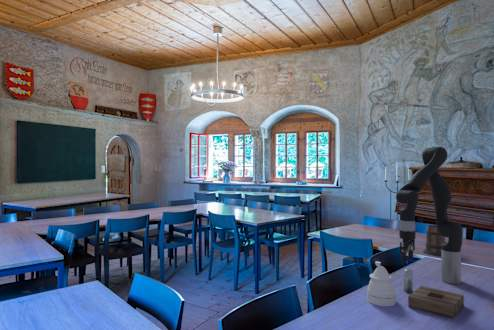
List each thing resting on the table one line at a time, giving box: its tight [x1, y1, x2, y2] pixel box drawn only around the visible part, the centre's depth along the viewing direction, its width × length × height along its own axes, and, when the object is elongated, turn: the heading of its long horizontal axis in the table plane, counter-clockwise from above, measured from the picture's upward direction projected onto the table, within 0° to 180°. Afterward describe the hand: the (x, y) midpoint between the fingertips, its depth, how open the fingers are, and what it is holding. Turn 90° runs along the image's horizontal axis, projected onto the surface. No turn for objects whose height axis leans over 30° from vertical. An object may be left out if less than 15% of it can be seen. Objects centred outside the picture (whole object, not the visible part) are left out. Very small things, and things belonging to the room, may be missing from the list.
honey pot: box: [366, 261, 397, 307], centre depth 164 cm, size 13×13×18 cm
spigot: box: [403, 268, 414, 294], centre depth 176 cm, size 4×4×11 cm
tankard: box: [422, 224, 448, 257], centre depth 251 cm, size 24×17×20 cm
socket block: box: [407, 285, 465, 320], centre depth 156 cm, size 18×18×5 cm
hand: (407, 260), depth 176 cm, fingers open, 8 cm apart
